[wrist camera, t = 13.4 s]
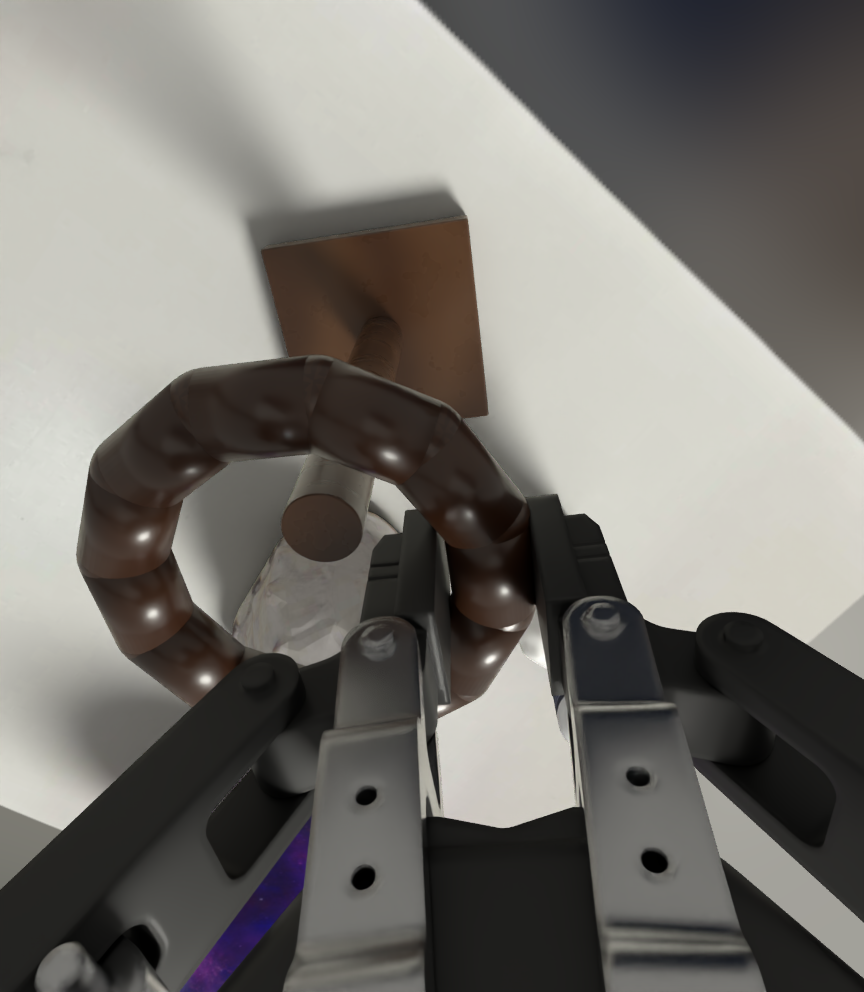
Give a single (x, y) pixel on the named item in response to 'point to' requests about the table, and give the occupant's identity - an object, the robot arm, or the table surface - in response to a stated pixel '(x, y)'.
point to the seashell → (307, 600)
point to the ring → (288, 432)
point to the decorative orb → (254, 917)
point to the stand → (375, 345)
